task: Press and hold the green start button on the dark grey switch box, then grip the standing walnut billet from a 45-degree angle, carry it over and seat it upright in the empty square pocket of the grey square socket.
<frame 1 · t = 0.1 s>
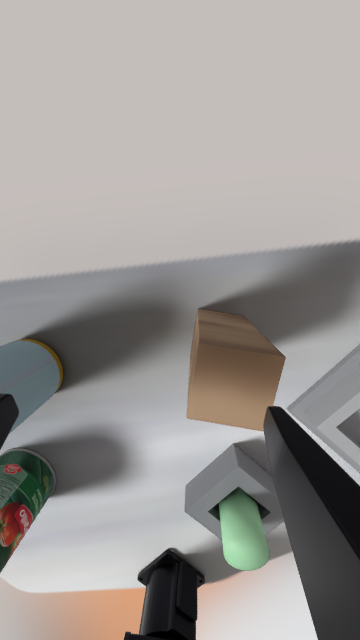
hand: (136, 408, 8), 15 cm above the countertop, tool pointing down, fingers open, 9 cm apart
switch box: (234, 485, 27), on the countertop
billet: (216, 334, 23), on the countertop
bottle: (36, 366, 26), on the countertop
canned tomato: (27, 473, 29), on the countertop
start button: (241, 525, 23), point 4 cm above the countertop, slide at 0.0 cm
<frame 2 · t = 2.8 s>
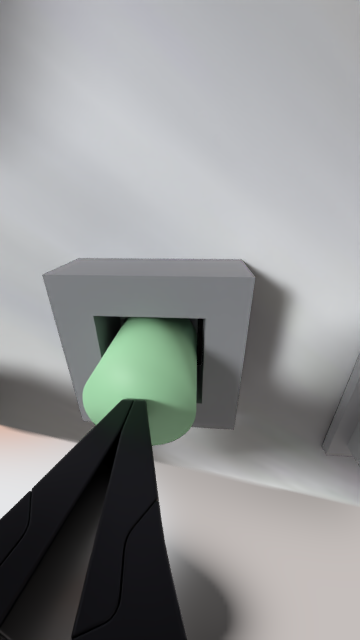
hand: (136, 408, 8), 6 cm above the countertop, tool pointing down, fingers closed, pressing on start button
switch box: (161, 330, 13), on the countertop
start button: (151, 366, 10), point 3 cm above the countertop, slide at -1.0 cm, touching gripper
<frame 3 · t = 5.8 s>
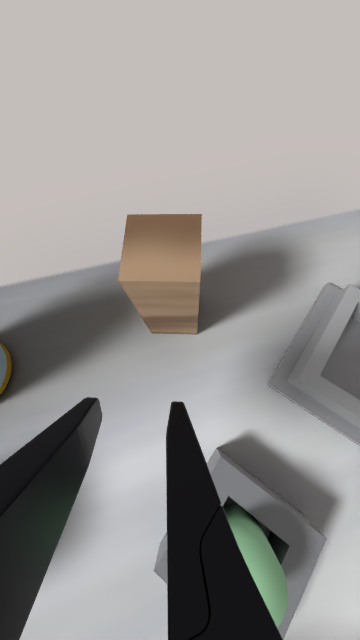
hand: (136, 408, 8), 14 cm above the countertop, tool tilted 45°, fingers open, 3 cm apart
grey square socket: (359, 368, 21), on the countertop
switch box: (232, 529, 18), on the countertop
billet: (175, 312, 24), on the countertop
start button: (241, 558, 15), point 3 cm above the countertop, slide at -1.0 cm
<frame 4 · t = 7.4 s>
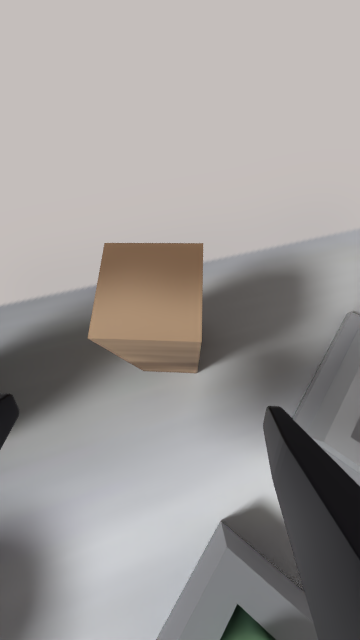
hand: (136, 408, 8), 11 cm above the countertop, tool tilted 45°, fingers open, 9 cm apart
switch box: (241, 633, 14), on the countertop
billet: (171, 345, 20), on the countertop
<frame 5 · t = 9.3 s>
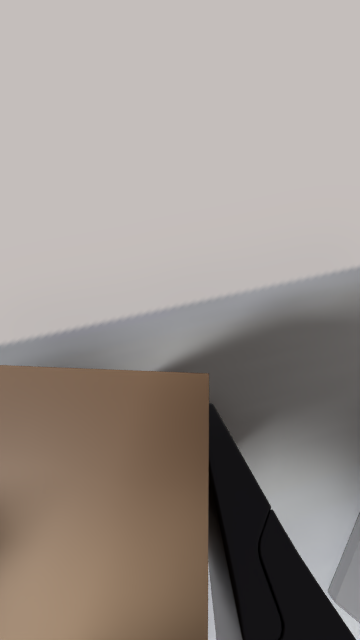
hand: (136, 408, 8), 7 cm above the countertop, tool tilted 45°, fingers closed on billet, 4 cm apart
billet: (159, 428, 14), on the countertop, touching gripper
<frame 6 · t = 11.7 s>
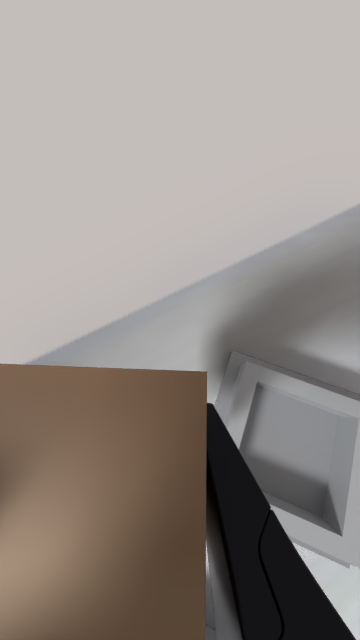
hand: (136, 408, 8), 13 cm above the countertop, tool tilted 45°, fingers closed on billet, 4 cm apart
grey square socket: (280, 442, 19), on the countertop
billet: (158, 427, 14), point 7 cm above the countertop, touching gripper
when the fingers open (8 cm above the countertop, at t = 13.9 s): billet drops 1 cm, resting on grey square socket.
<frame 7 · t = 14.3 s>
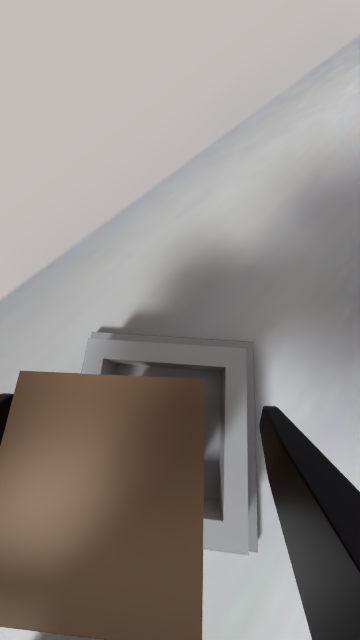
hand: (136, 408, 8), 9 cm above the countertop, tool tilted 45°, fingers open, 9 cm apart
grey square socket: (163, 424, 16), on the countertop
billet: (162, 425, 15), point 1 cm above the countertop, touching grey square socket
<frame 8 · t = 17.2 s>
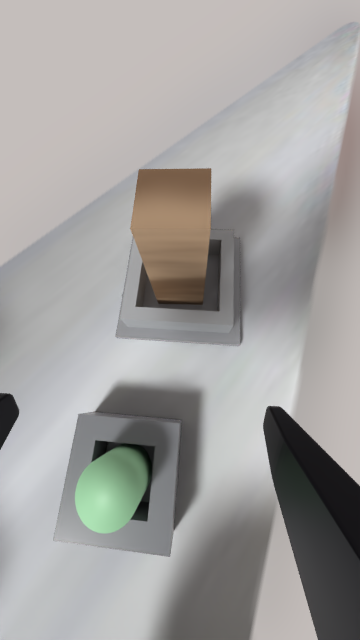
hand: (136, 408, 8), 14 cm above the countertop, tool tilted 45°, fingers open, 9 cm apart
grey square socket: (181, 286, 25), on the countertop
switch box: (130, 466, 19), on the countertop
billet: (181, 284, 24), point 1 cm above the countertop, touching grey square socket
start button: (118, 480, 16), point 3 cm above the countertop, slide at -1.0 cm
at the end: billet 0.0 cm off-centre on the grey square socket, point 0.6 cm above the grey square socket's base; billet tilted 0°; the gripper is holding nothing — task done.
